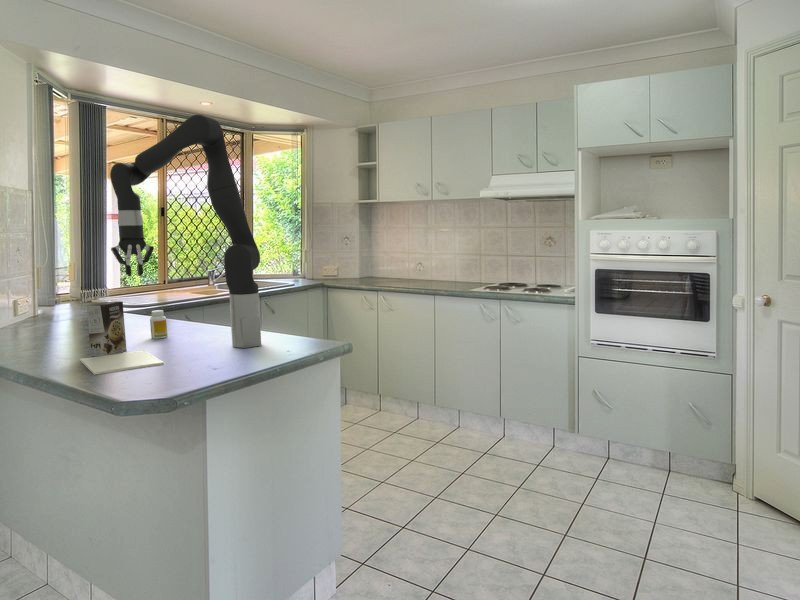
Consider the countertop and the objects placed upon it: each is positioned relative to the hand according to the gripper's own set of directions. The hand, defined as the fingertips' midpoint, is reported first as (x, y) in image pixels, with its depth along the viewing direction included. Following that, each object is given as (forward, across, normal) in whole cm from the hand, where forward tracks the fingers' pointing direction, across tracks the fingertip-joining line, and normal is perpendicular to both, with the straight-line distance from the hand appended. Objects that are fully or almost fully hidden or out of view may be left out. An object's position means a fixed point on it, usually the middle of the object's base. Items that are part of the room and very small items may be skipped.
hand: (134, 275), depth 199 cm
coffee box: (+23, -12, -12) cm, 29 cm away
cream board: (+23, -12, -28) cm, 39 cm away
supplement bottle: (+23, +8, +6) cm, 25 cm away
